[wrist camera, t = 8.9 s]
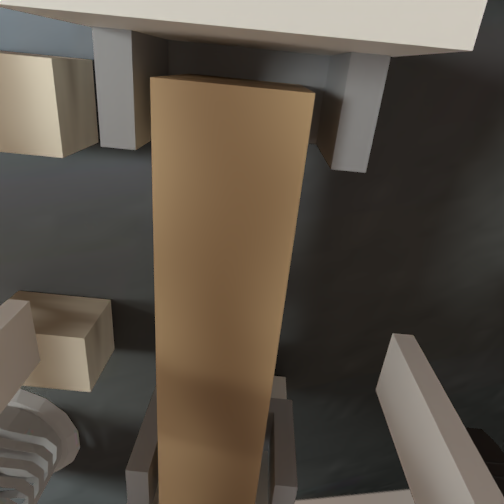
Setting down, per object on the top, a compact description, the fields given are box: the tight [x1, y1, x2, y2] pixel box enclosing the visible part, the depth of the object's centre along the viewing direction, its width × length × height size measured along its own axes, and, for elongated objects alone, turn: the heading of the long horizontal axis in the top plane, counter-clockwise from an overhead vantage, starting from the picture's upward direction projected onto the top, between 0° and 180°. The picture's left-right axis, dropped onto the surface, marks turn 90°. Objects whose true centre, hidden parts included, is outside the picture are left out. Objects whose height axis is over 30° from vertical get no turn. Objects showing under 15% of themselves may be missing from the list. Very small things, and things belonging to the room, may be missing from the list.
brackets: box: [0, 0, 487, 504], centre depth 17 cm, size 8×22×14 cm, turn 175°
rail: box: [150, 74, 315, 504], centre depth 16 cm, size 4×18×5 cm, turn 175°
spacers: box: [0, 51, 115, 392], centre depth 21 cm, size 6×18×4 cm, turn 175°
